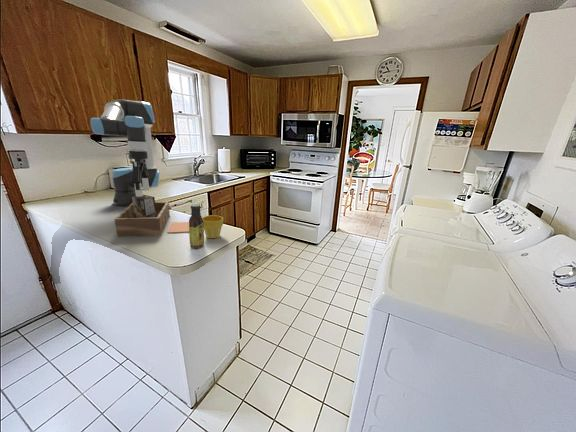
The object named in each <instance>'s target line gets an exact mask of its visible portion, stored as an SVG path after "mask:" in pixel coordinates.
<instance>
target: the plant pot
mask: <svg viewBox="0 0 576 432" xmlns="http://www.w3.org/2000/svg"><path fill="white" fill-rule="evenodd" d="M202 219H203V222H204V235H205V237H206V238H207V239H210V238H215V239H217V238H216V237H218V238H219V237H220V236H221V232H222V231H221V230H222V226H223V225H224V217H223V216H220V215H215V214H212V215H205V216H203V217H202Z"/></svg>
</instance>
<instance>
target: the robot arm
mask: <svg viewBox="0 0 576 432" xmlns="http://www.w3.org/2000/svg"><path fill="white" fill-rule="evenodd" d="M155 122H156V118H155V115H154V111H153V107H152V104H151V103H150V102H146V101H140V100H133V99H132V100H131V99H130V100H129V99H123V98H120V99H119V98H118V99H115V100H111V101H109V102H107V103H106V104H105V105H104V107H103V113H102V114H101V115H100V117H91V118H90V122H89V123H90V128H91V131H92V133H93V134H95V135H101V136H115V137H116V136H118V137H127V142H126V145H127V147H128V149H129V151H128V153H129V159H132V160H134V161H132V167H121V168H116V169H113V170H112V172H111V173H112V174H111V175H112V177H111V178H112V183H113V188H114V196H113V200H112V205H114V206H116V207H117V206H118V207H128V206H129V205H130V204H131V203H133V200H132V197H133V196H143V195H144V194H143V191H150V188H151V189H153V188H158V187H159V185H160V170H159V169H158V168H157V167H156V166H155V160H154V153H153V152H154V151H153V139H152V129H151V128H152V127H153V126H154V123H155ZM142 194H143V195H142Z"/></svg>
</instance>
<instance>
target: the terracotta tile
mask: <svg viewBox="0 0 576 432" xmlns="http://www.w3.org/2000/svg"><path fill="white" fill-rule="evenodd" d="M182 233H186V234H187V233H189V221H177V222H173V221H172V222H171V223H170V225H169V228H168V230H167V234H182Z"/></svg>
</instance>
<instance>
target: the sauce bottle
mask: <svg viewBox="0 0 576 432" xmlns="http://www.w3.org/2000/svg"><path fill="white" fill-rule="evenodd" d="M201 209H202V207H201V204H198V203H197V204H196V203H195V204H191V205H190V211H191V212H190V213H191V214H190V217H189V219H188V222H189V232H188V233H189V235H188V236H189V246H190V248H191V249H192V250H193V249H194V250H198V249H201V248H203V247H205V230H204V222H203V219H202V218H203V217H202V214H201Z"/></svg>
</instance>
